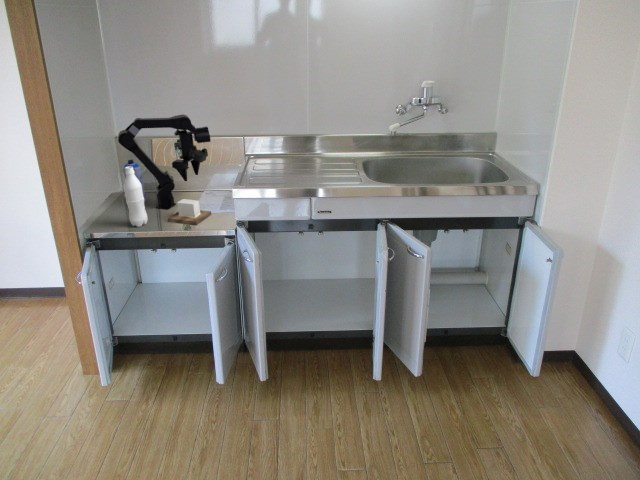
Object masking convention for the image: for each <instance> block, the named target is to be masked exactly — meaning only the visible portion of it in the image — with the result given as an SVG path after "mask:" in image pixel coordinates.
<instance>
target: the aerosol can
mask: <svg viewBox="0 0 640 480" xmlns="http://www.w3.org/2000/svg"><path fill="white" fill-rule="evenodd" d="M127 166H133V170H134V172H135V173H134V174H135V176H136V177H137V179H138V180H139V181H140V183H141V185H142V191H143V197H144V203H147V201H148V199H147V198H146V197H147V196H146V192H145V185H144V180H143V173H142V168H141V166H140V164H138V163H137V162H134V159H128V160H127V163H125V165H124V166H123V171H122V172H123V174H124V180H125V179H126V174H125V173H126V172H125V171H126V169H125V167H127Z"/></svg>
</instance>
